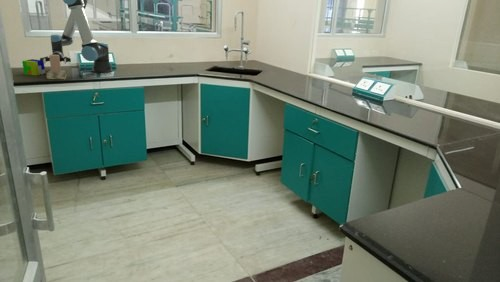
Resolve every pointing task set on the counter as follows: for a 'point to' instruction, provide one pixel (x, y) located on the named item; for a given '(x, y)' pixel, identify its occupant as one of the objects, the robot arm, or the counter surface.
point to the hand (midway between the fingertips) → (54, 61)
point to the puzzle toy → (33, 67)
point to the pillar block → (55, 63)
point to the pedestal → (56, 75)
